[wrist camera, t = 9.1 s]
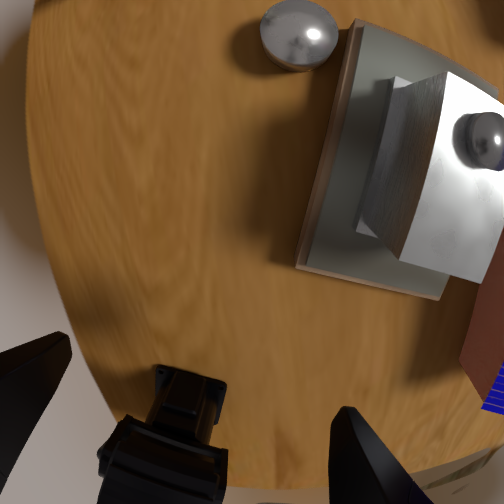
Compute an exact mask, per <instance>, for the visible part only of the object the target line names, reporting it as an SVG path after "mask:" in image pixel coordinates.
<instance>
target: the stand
mask: <svg viewBox="0 0 504 504" xmlns="http://www.w3.org/2000/svg"><path fill="white" fill-rule="evenodd" d="M447 71H449V72H450V73H452V74H454V75H456V76H457V77H459V78H461V79H463V80H464V81H466V82H468V83H469V84H471V85H473V86H474V87H476V88H478V89H479V90H481V91H482V92H484V93H485V94H487V95H488V96H490V97H491V98H493V99H494V100H496V101H498V92H499V89H498V88H496V87H495V86H494V85H492V84H491V83H489V82H488V81H486V80H485V79H483V78H481V77H480V76H478V75H477V74H475V73H474V72H472V71H470V70H469V69H467V68H465V67H464V66H462V65H460V64H458V63H457V62H455V61H453V60H451V59H450V58H448V57H446V56H444V55H442V54H440V53H438V52H436V51H434V50H432V49H430V48H428V47H426V46H424V45H422V44H420V43H418V42H416V41H414V40H411V39H409V38H407V37H404V36H402V35H400V34H397V33H395V32H393V31H390V30H388V29H385V28H382V27H380V26H377V25H374V24H372V23H369V22H366V21H363V20H360V19H357V18H355V20H354V21H353V23H352V25H351V26H350V28H349V30H348V35H347V40H346V45H345V50H344V55H343V60H342V65H341V70H340V74H339V79H338V84H337V88H336V93H335V97H334V102H333V106H332V110H331V115H330V119H329V123H328V128H327V132H326V136H325V140H324V144H323V148H322V152H321V156H320V160H319V164H318V168H317V172H316V176H315V180H314V184H313V188H312V192H311V196H310V199H309V203H308V207H307V211H306V214H305V218H304V222H303V225H302V229H301V233H300V236H299V240H298V243H297V247H296V250H295V254H294V262H295V268H296V269H300V270H304V271H309V272H313V273H318V274H322V275H326V276H331V277H335V278H339V279H344V280H348V281H353V282H357V283H361V284H366V285H370V286H375V287H379V288H383V289H388V290H392V291H397V292H401V293H406V294H410V295H415V296H419V297H423V298H428V299H432V300H437V301H439V300H440V297H441V295H442V293H443V291H444V289H445V286H446V284H447V282H448V280H449V277H450V275H449V274H446V273H442V272H439V271H435V270H432V269H428V268H425V267H421V266H417V265H414V264H410V263H407V262H403V261H399V260H398V259H397V258H396V257H395V256H394V255H393V253H392V252H391V251H390V250H389V249H388V248H387V247H386V246H385V245H384V243H383V242H382V241H381V240H380V239H379V238H376V237H373V236H369V235H366V234H362V233H359V232H355V230H354V229H353V228H352V224H353V221H354V217H355V214H356V211H357V208H358V204H359V201H360V197H361V194H362V191H363V187H364V184H365V180H366V176H367V173H368V169H369V165H370V162H371V158H372V154H373V150H374V146H375V142H376V138H377V134H378V130H379V125H380V121H381V117H382V112H383V108H384V103H385V98H386V93H387V89H388V83H389V79H390V78H392V77H394V76H397V77H400V78H402V79H404V80H407V81H409V82H411V83H415V82H418V81H420V80H423V79H426V78H429V77H432V76H435V75H438V74H441V73H444V72H447Z"/></svg>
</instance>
